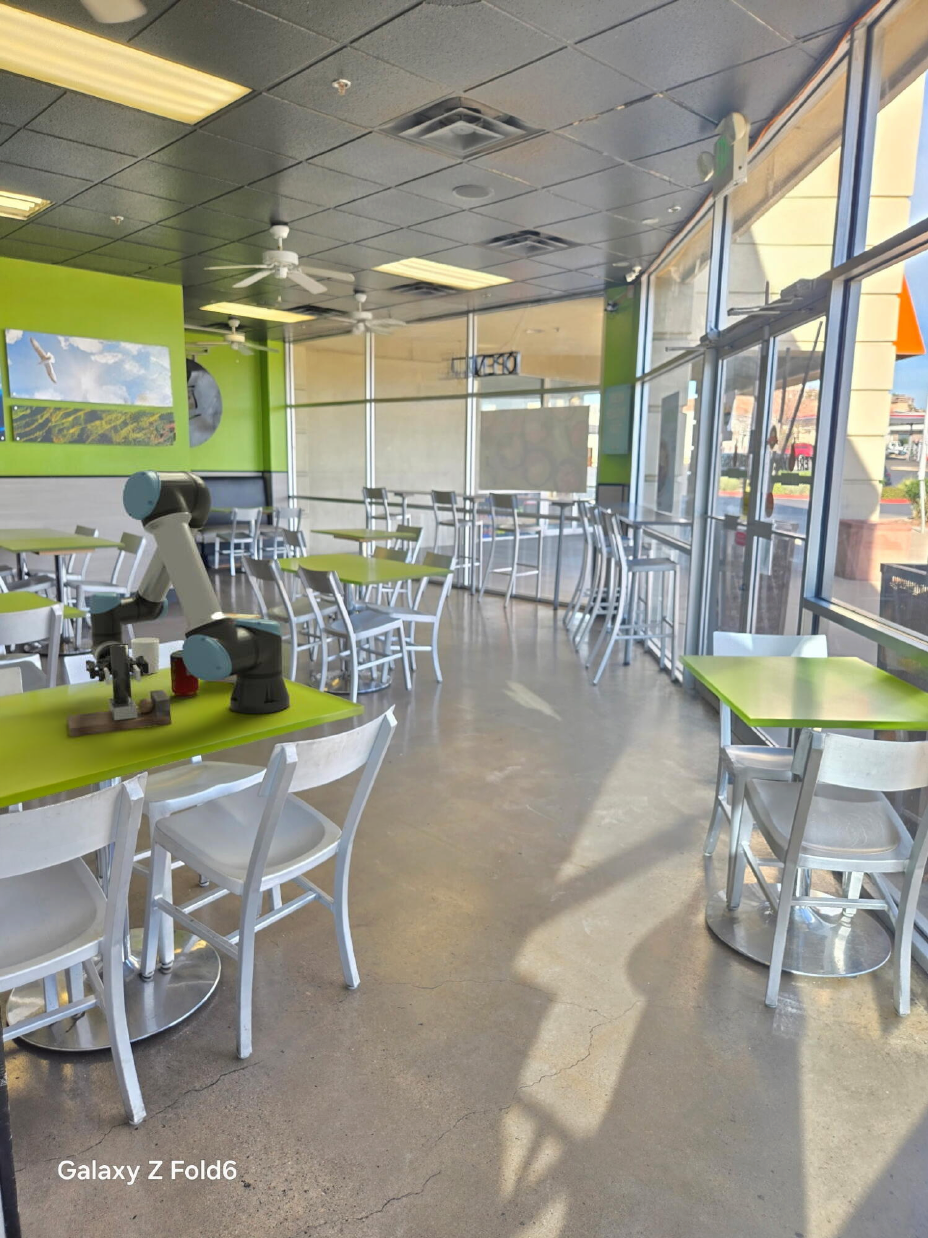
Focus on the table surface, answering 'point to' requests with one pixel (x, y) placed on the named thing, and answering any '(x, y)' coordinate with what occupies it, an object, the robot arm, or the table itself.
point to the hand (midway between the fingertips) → (123, 677)
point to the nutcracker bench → (100, 722)
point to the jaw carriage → (121, 684)
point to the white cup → (147, 652)
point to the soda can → (182, 677)
